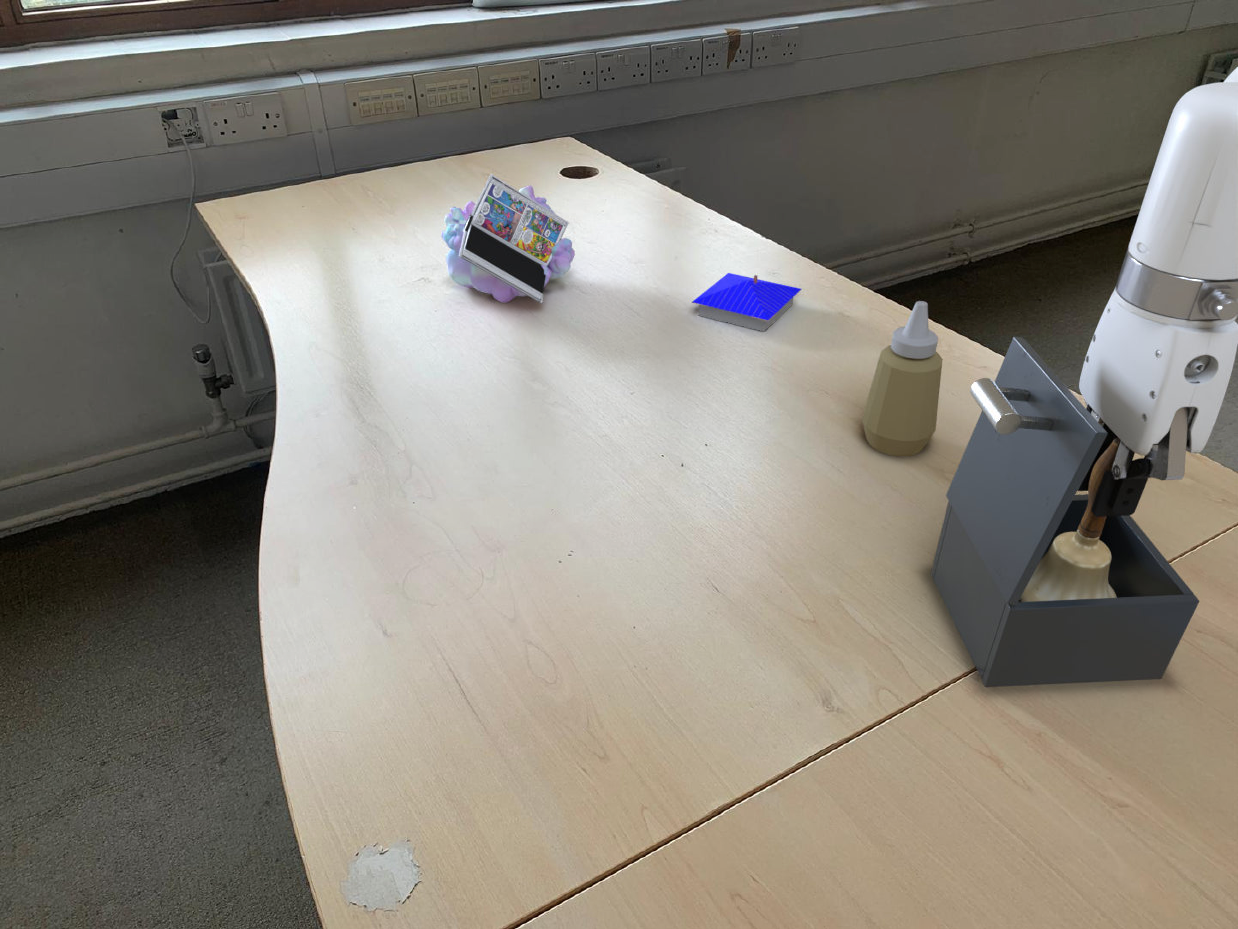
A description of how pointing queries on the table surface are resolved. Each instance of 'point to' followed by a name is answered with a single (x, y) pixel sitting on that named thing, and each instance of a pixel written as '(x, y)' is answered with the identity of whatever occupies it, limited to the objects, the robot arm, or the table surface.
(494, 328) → the table surface
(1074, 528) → the grey storage bin
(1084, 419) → the bin lid
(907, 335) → the squeeze bottle
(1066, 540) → the hand bell
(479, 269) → the pastel cloud comic display
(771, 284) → the roof
